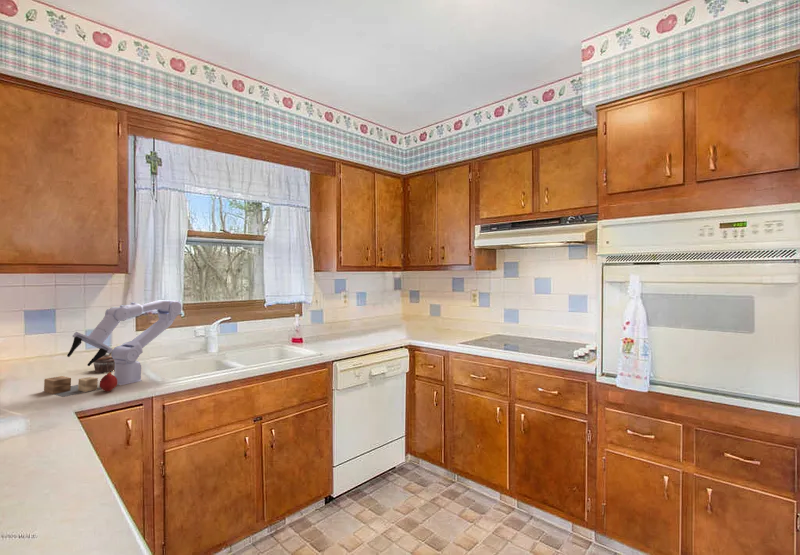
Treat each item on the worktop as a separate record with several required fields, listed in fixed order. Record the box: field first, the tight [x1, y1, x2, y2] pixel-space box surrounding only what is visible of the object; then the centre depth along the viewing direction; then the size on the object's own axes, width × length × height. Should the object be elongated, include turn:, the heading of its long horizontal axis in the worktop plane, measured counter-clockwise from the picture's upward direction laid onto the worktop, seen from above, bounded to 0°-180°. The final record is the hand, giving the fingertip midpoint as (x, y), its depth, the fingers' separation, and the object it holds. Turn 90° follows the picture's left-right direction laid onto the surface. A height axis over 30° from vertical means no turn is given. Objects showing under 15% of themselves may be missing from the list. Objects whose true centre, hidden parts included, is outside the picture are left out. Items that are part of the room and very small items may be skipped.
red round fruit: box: [99, 372, 118, 393], centre depth 166 cm, size 6×6×8 cm
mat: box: [42, 384, 102, 398], centre depth 165 cm, size 14×14×1 cm
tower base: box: [43, 383, 72, 395], centre depth 162 cm, size 6×6×2 cm
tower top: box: [43, 375, 72, 388], centre depth 162 cm, size 6×6×2 cm
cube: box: [77, 376, 99, 393], centre depth 166 cm, size 4×4×4 cm
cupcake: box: [92, 351, 115, 374], centre depth 200 cm, size 10×10×10 cm
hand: (78, 360), depth 163 cm, fingers open, 7 cm apart
